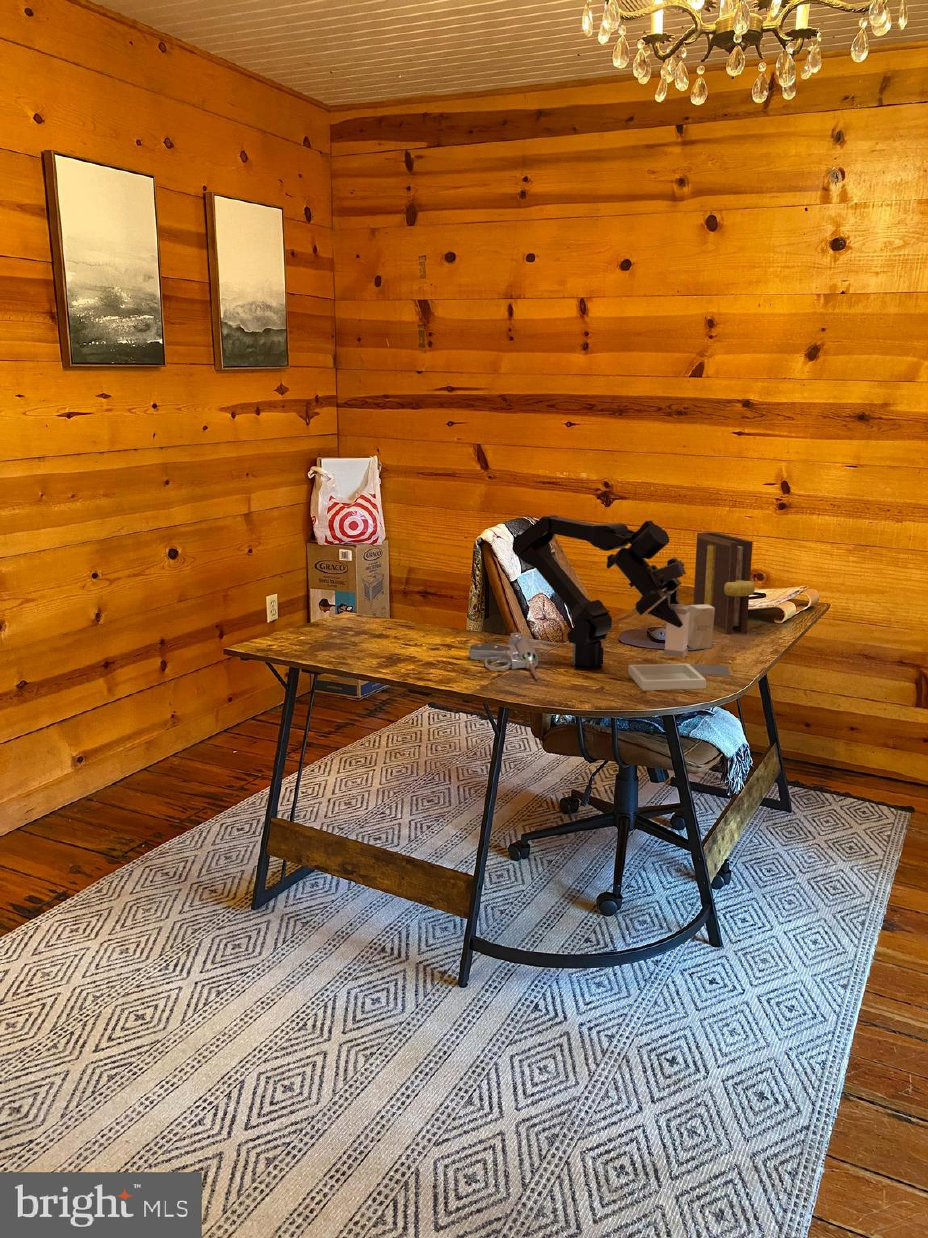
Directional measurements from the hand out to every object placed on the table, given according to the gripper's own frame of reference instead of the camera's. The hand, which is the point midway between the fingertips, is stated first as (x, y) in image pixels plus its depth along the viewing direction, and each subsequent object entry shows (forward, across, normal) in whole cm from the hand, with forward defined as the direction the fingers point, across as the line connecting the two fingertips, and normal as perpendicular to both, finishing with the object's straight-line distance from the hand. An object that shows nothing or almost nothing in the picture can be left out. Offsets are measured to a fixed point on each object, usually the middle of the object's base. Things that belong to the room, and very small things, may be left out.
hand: (683, 624), depth 213 cm
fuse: (+4, 0, +6) cm, 7 cm away
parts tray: (+8, -2, +11) cm, 14 cm away
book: (+8, +57, +12) cm, 59 cm away
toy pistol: (-19, -4, +39) cm, 44 cm away
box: (+8, +32, +12) cm, 35 cm away
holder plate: (+12, +11, +7) cm, 18 cm away
